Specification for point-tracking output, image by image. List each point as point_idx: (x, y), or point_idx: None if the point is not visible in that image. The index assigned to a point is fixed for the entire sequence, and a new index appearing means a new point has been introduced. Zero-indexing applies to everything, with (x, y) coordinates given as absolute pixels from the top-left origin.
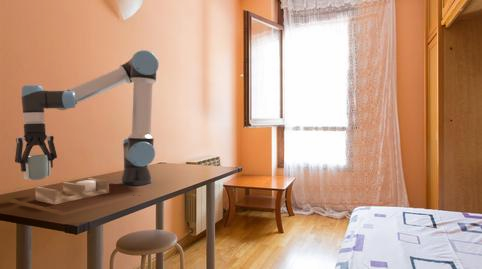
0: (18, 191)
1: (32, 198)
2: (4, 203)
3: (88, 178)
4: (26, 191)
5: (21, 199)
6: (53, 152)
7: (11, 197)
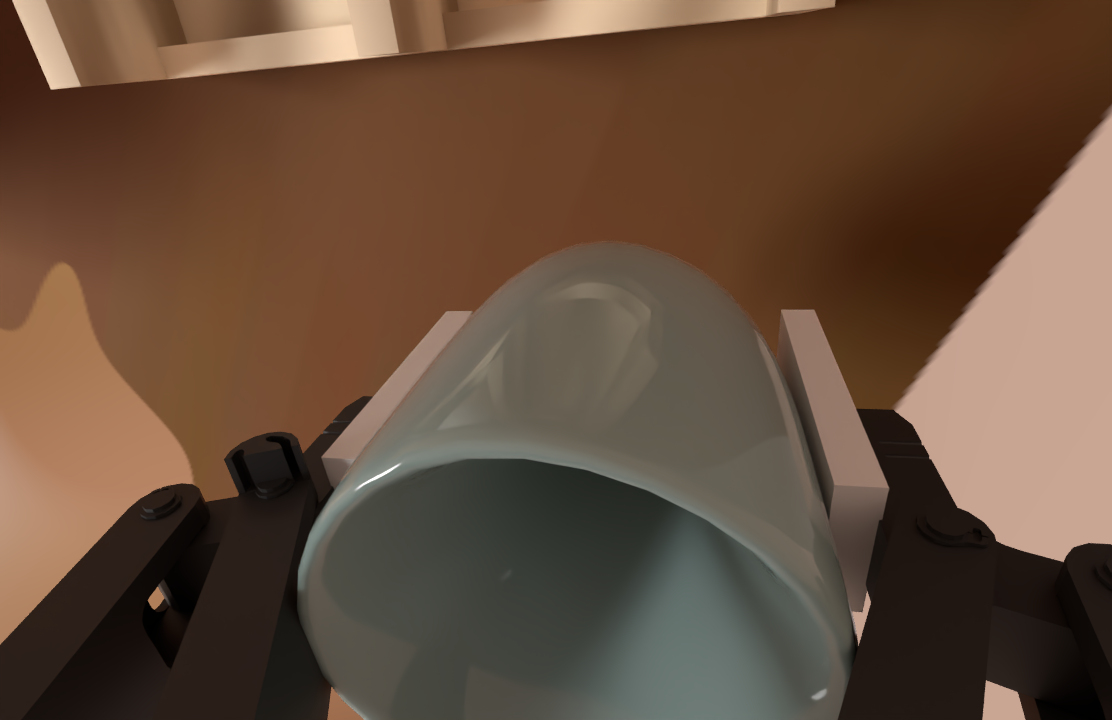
0: None
1: None
2: (958, 322)
3: (61, 79)
4: None
5: None
6: (99, 608)
7: None
